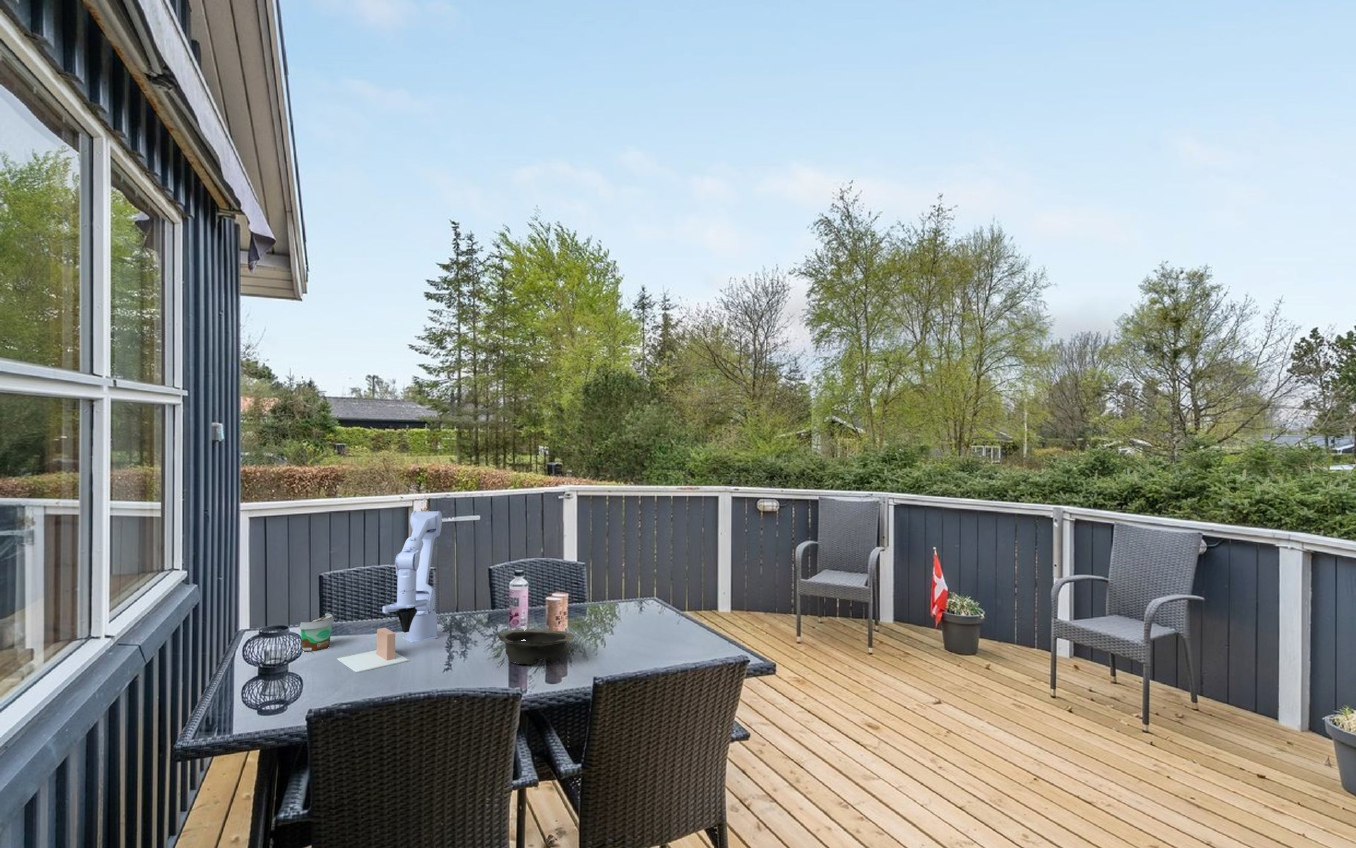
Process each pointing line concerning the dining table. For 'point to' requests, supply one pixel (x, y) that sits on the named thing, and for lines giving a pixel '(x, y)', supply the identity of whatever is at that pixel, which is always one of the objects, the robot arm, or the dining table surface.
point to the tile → (385, 644)
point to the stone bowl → (534, 645)
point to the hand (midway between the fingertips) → (405, 631)
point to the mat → (369, 661)
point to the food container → (316, 633)
